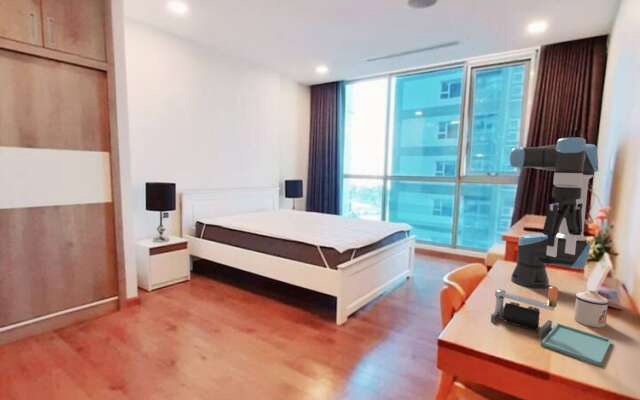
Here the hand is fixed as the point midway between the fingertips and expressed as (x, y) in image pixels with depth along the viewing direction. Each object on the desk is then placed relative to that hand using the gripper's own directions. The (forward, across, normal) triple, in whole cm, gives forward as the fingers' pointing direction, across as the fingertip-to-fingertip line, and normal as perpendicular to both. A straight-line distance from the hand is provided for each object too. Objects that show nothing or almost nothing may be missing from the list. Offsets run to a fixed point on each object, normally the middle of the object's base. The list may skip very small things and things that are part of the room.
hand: (560, 254), depth 109 cm
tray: (+25, +4, +9) cm, 27 cm away
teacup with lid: (+26, -18, +1) cm, 32 cm away
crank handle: (+17, +8, -5) cm, 20 cm away
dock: (+25, +8, -6) cm, 27 cm away
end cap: (+26, +8, -6) cm, 28 cm away
